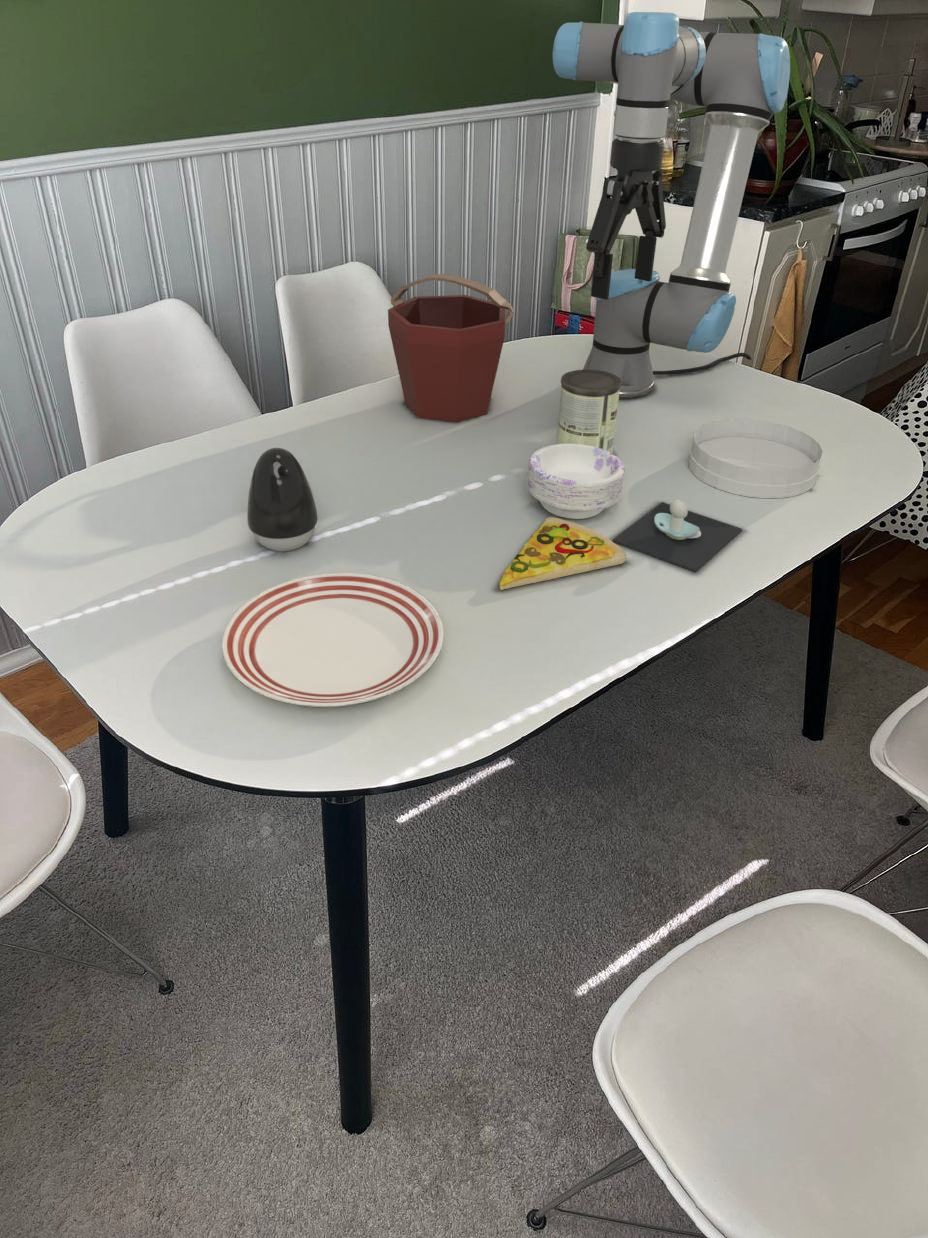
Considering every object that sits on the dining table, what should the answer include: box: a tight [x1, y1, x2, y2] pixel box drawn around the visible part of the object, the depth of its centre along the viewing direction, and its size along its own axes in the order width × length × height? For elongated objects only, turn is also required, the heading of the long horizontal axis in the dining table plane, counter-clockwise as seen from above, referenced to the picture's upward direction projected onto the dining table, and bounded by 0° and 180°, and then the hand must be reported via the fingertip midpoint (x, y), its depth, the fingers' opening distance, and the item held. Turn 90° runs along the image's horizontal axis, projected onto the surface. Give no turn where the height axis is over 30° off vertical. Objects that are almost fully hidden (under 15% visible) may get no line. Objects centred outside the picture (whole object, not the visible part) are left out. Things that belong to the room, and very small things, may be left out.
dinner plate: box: [221, 572, 445, 708], centre depth 119 cm, size 27×27×3 cm
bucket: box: [387, 273, 515, 423], centre depth 181 cm, size 24×22×25 cm
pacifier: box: [654, 498, 701, 540], centre depth 144 cm, size 7×6×6 cm
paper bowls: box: [526, 443, 626, 520], centre depth 151 cm, size 15×15×8 cm
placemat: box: [612, 501, 743, 573], centre depth 146 cm, size 16×14×1 cm
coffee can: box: [556, 369, 621, 454], centre depth 166 cm, size 10×10×14 cm
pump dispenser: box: [246, 447, 318, 552], centre depth 138 cm, size 10×10×15 cm
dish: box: [687, 418, 823, 499], centre depth 165 cm, size 22×22×5 cm
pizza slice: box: [499, 516, 627, 591], centre depth 137 cm, size 16×21×3 cm
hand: (621, 288), depth 149 cm, fingers open, 13 cm apart
